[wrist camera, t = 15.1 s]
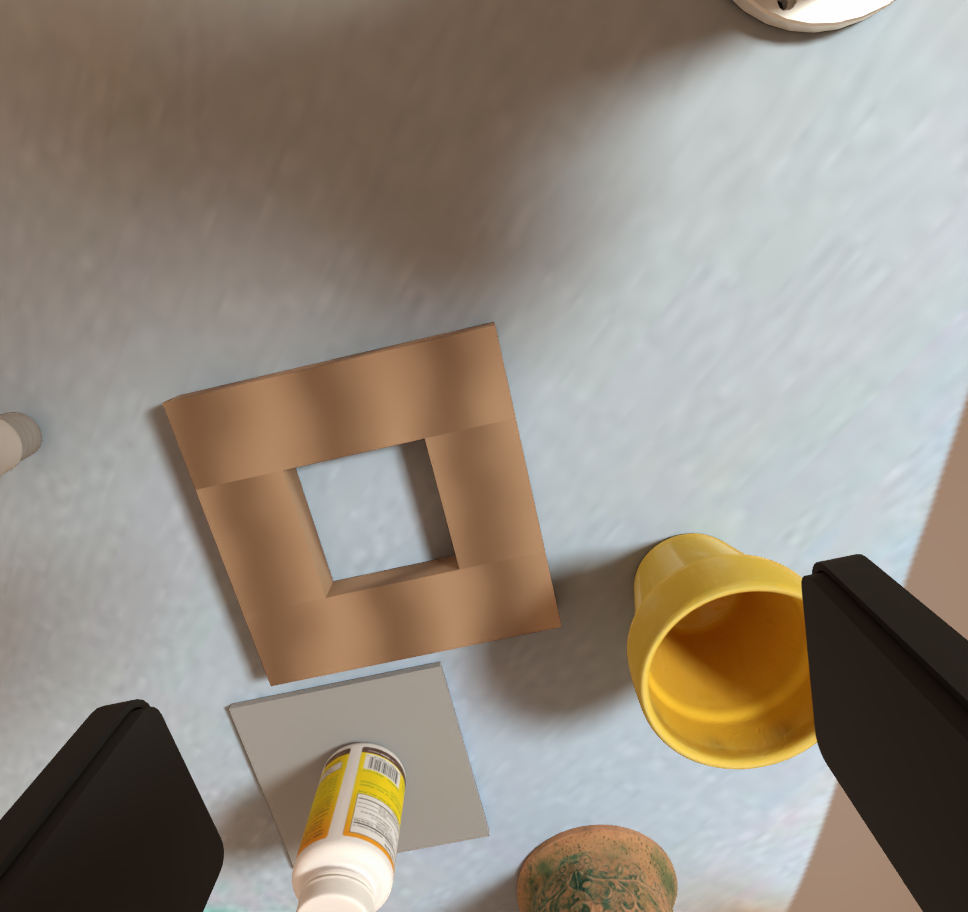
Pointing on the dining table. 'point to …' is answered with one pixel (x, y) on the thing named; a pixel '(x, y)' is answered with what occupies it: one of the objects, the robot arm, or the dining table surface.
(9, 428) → the lightbulb
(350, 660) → the wooden square frame
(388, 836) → the supplement bottle
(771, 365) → the dining table surface
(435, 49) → the dining table surface
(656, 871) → the mug
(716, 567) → the plant pot
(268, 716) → the grey mat
